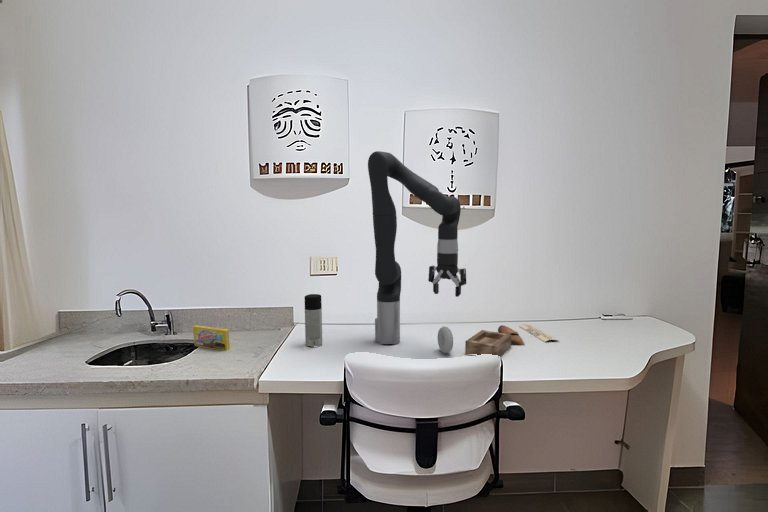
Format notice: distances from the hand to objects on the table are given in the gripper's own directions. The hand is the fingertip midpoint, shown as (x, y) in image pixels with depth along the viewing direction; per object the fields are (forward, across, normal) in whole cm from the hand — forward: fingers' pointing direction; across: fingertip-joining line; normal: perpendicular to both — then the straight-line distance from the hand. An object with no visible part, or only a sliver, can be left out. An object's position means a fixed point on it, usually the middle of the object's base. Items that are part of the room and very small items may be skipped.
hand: (446, 295), depth 166 cm
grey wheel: (+22, 0, 0) cm, 22 cm away
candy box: (+23, -79, -45) cm, 93 cm away
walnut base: (+22, +13, +11) cm, 28 cm away
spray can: (+22, -48, -20) cm, 56 cm away
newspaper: (+23, +22, +43) cm, 53 cm away
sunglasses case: (+23, +15, +30) cm, 41 cm away
